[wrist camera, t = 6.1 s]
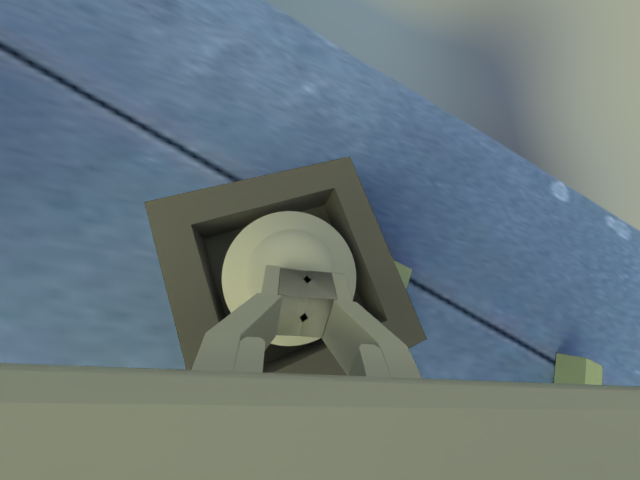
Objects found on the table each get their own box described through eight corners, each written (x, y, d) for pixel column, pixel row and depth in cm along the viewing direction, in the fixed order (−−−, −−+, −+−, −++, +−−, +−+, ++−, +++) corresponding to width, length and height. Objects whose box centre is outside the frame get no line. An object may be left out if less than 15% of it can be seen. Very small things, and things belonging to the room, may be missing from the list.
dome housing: (181, 235, 16) (144, 202, 11) (326, 196, 20) (349, 156, 14) (227, 400, 15) (207, 451, 10) (379, 329, 18) (426, 339, 13)
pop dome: (214, 243, 14) (193, 216, 10) (320, 213, 16) (340, 180, 11) (249, 359, 13) (241, 385, 9) (358, 313, 15) (395, 315, 10)
